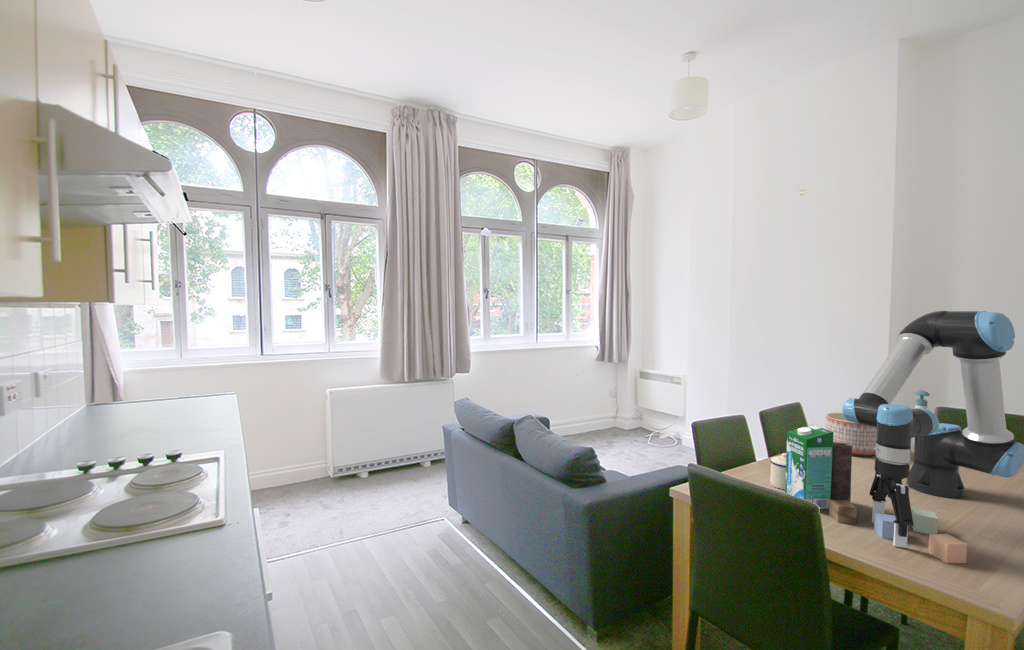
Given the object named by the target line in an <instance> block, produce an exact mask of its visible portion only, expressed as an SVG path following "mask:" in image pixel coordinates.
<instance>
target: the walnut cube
mask: <svg viewBox="0 0 1024 650" xmlns="http://www.w3.org/2000/svg"><path fill="white" fill-rule="evenodd" d="M857 512H858V507H857V506H855V505H854V504H853V503H852V502H851V501H850V502H849V501H848V500H834V499H830V500H829V509H828V515H829V517H831V518H832V519H833V520H834V521H835V522H837V523H838V524H839V523H843V524H856V525H857Z"/></svg>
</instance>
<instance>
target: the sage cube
mask: <svg viewBox="0 0 1024 650" xmlns="http://www.w3.org/2000/svg"><path fill="white" fill-rule="evenodd" d="M911 512H912V518H913V526H911V529H912V530H913V532H915V533H916V532H917V533H921V534H927V535H929V534H938V523H939V518H938V517H937V514H936V512H935V511H930V510H925V509H921V508H920V509H919V508H915V507H911Z"/></svg>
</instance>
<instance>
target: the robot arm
mask: <svg viewBox="0 0 1024 650" xmlns="http://www.w3.org/2000/svg"><path fill="white" fill-rule="evenodd" d="M1014 339H1016V332H1015V328H1014V325H1013V323H1012V321H1011V320H1010V318H1009V317H1008V316H1006V315H1005V314H1003V313H1000V312H995V311H986V310H981V311H975V310H974V311H972V310H971V311H963V310H962V311H960V310H959V311H957V310H956V311H955V310H950V311H949V310H937V311H933V312H928V313H926V314H923V315H921V316H919V317H918V318H915V319H914V320H912V321H911V322H909V323H908V324H907V325H906V326H904V328H903V329H902V330H901V331H900V332H899V334H897V336H896V339H895V342H896V344H895V346H894V347H893V349H892V350H891V351H890V353H889V354H888V356H887V357H886V358H885V360H884V362H883V363H882V365H881V366H880V367H879V369H878V370H877V371H876V373H875V374H874V376H873V378H872V379H871V380H870V382H869V383H868V385H867V386H866V387H865V389H864V391H863V392H862V393H861V395H860V396H859V398H857V397H855V398H854V397H853V398H852V397H849V398H848V399H845V401H844V402H843V405H842V409H841V410H842V411H841V413H843V415H844V417H845V419H847V420H848V421H851V422H854V423H858V424H863V425H867V426H872V427H877V437H876V447H874V450H876V454H875V457H876V458H875V459H874V471H875V473H874V477H873V481H872V484H871V486H870V490H869V496H871V499H872V515H871V516H872V517H871V523H872V524H874V525H875V513H879V514H886V512H885V509H886V503H885V502H887V500H886V497H887V498H888V499H890V501H891V505H892V509H893V513H894V515H895V517H896V520H895V521H893V522H894V540H893V539H892V545H893V546H894V547H896V548H904V549H907V548H908V535H909V534H908V532H909V531H908V529H909V526H911V527H912V526H913V518H912V512H911V511H912V506H911V501H910V495H909V493H910V491H909V487H910V488H912V489H914V490H916V491H918V492H921V493H925V494H928V495H933V496H937V497H943V498H953V499H954V498H958V499H959V498H963V497H965V494H966V490H965V489H966V488H965V486H964V483H963V480H962V477H961V474H960V470H959V469H960V467H962V468H965V469H969V470H973V471H978V472H979V473H980V472H981V473H984V474H988V475H991V476H996V477H997V476H998V477H1001V478H1005V479H1006V478H1007V479H1008V478H1009V479H1010V478H1013V477H1015V476H1016V475H1017V474H1018V473H1019V472H1020V470H1021V469H1022V467H1023V464H1024V444H1023V443H1021V442H1018V441H1015V435H1014V433H1013V432H1012V431H1010V430H1008V429H1007V424H1006V423H1007V422H1006V413H1005V405H1004V404H1005V403H1004V394H1003V393H1004V392H1003V391H1004V390H1003V383H1002V373H1001V363H1000V362H1001V361H1000V359H1002V358H1003V357H1005V356H1006V355H1007V352H1008V351H1011V350H1012V348H1013V347H1014V346H1015V345H1014V344H1015V340H1014ZM939 347H940V348H941V347H943V348H950V349H952V355H953V356H954V357H955V358H956V359H958V360H960V369H961V377H962V386H963V394H964V395H963V396H964V402H965V404H964V405H965V413H966V421H967V422H966V423H967V426H966V427H965V428H964V429H962V427H961V426H960V425H957V424H952V423H943V422H940V421H939V418H938V416H937V415H936V414H935V413H934V412H932V411H931V410H929V409H928V410H926V409H919V408H916V409H915V408H911V407H910V406H906V405H901V404H895V403H894V404H893V401H894V400H895V398H896V397H897V395H898V394H899V393H900V391H901V390H902V388H903V386H904V385H905V384H906V382H907V380H908V379H909V378H910V376H911V374H912V373H913V372H914V370H915V369H916V367H917V366H918V364H919V363H920V361H921V360H922V358H923V357H924V355H928V354H930V353H931V352H932V350H933V349H934V348H939ZM913 437H915V445H914V453H913V464H912V466H910V464H909V463H911V454H912V453H911V438H913ZM910 467H911V468H910ZM904 479H906V483H905V485H903V481H902V480H904Z"/></svg>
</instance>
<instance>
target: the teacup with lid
mask: <svg viewBox="0 0 1024 650" xmlns="http://www.w3.org/2000/svg"><path fill="white" fill-rule="evenodd" d="M786 454H787V452H785V453H781V455H778V456H773V457H771V458H770V460H769V462H770V477H769V478H770V482H769V483H770V485H771V486H773V488H776V489H779V488H780V489H779V490H782V489H784V490H783V491H785V484H786Z"/></svg>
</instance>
